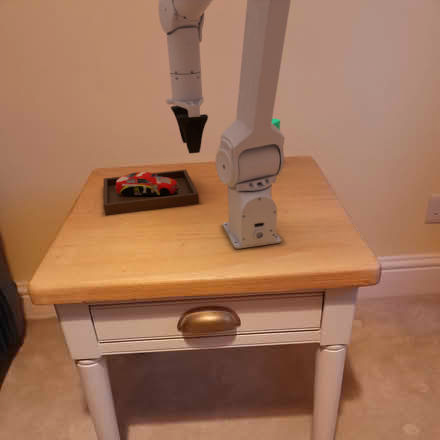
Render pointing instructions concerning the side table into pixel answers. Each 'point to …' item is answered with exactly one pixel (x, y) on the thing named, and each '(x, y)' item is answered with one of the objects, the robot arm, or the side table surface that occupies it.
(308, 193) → the side table surface
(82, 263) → the side table surface
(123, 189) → the race car
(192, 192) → the tray
